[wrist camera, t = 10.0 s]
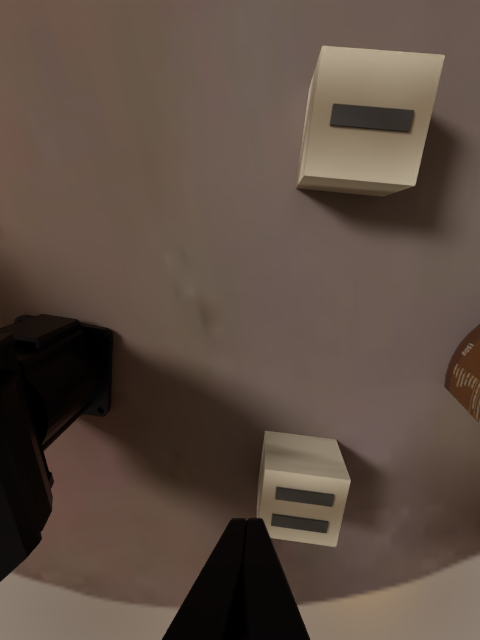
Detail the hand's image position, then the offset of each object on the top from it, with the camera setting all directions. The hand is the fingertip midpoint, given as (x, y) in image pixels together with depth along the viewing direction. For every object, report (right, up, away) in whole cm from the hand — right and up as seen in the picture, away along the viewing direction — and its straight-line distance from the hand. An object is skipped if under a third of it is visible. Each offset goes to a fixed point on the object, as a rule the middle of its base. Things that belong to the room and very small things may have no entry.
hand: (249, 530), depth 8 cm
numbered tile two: (+4, -5, +15) cm, 16 cm away
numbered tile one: (+6, +15, +9) cm, 19 cm away
